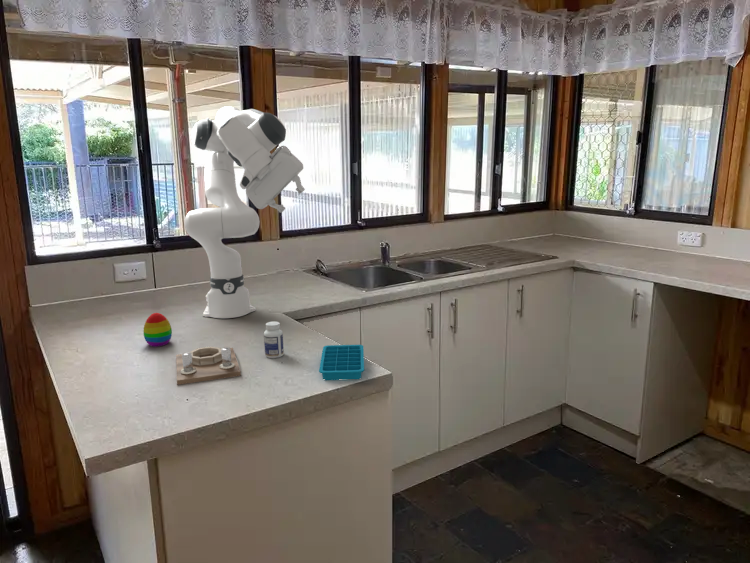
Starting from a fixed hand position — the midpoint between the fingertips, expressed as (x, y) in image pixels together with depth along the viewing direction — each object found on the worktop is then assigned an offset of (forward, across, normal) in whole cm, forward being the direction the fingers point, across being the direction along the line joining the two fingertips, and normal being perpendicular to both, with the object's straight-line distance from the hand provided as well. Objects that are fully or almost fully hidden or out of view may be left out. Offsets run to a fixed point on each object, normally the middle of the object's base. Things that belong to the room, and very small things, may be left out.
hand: (292, 201), depth 165 cm
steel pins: (+21, +31, +38) cm, 54 cm away
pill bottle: (+31, +26, +22) cm, 46 cm away
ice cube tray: (+45, +9, +24) cm, 51 cm away
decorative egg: (+5, +57, +24) cm, 62 cm away
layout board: (+20, +35, +35) cm, 53 cm away
